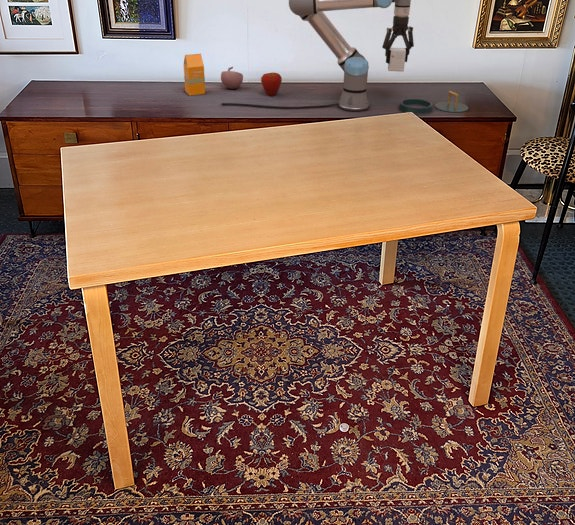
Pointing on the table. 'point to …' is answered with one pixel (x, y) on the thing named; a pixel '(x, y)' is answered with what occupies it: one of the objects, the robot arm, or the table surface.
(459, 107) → the tin lid
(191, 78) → the orange juice
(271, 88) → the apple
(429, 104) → the tin
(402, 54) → the small box
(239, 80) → the decorative fruit
